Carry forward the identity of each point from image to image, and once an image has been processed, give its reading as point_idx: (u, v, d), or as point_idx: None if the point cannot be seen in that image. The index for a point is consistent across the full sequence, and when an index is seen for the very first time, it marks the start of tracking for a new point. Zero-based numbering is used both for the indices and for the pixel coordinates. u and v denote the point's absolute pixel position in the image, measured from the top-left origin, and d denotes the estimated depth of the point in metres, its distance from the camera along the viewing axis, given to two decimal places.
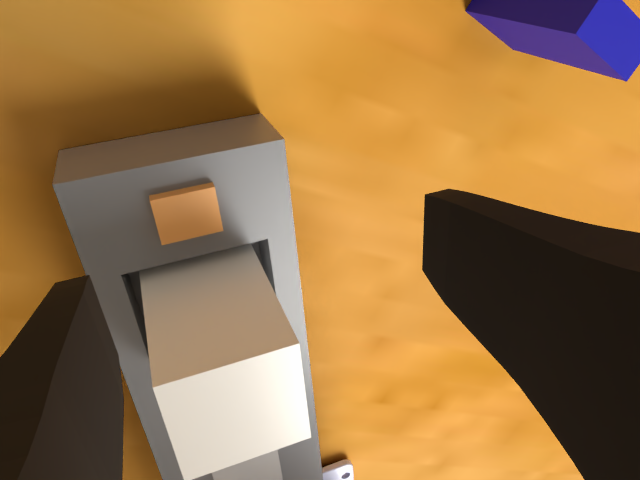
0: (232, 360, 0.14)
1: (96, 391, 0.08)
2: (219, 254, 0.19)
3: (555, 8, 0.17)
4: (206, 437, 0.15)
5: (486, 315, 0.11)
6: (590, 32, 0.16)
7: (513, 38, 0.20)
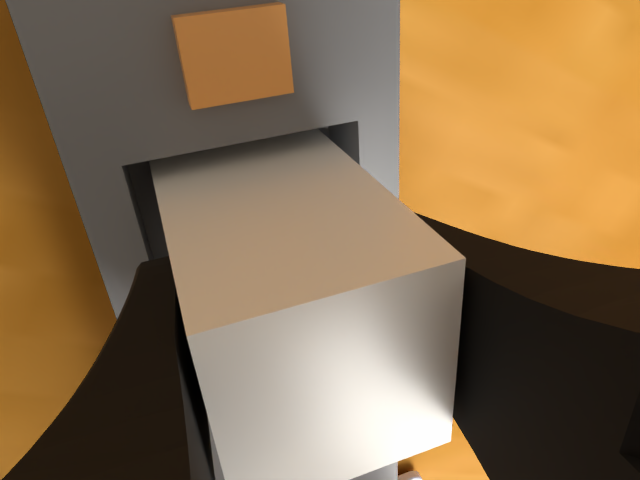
0: (342, 286, 0.07)
1: (191, 363, 0.09)
2: (278, 148, 0.12)
3: None
4: (281, 440, 0.08)
5: None
6: None
7: None
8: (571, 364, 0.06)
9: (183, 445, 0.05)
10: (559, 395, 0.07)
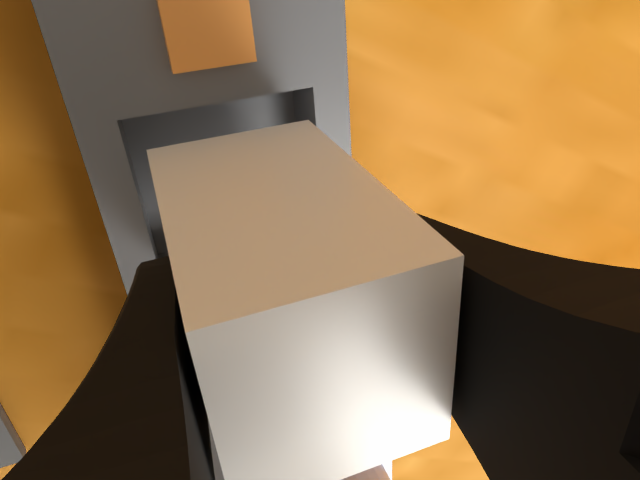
0: (341, 283, 0.07)
1: (191, 363, 0.09)
2: (277, 146, 0.12)
3: None
4: (279, 437, 0.08)
5: None
6: None
7: None
8: (570, 364, 0.06)
9: (183, 445, 0.05)
10: (558, 395, 0.07)
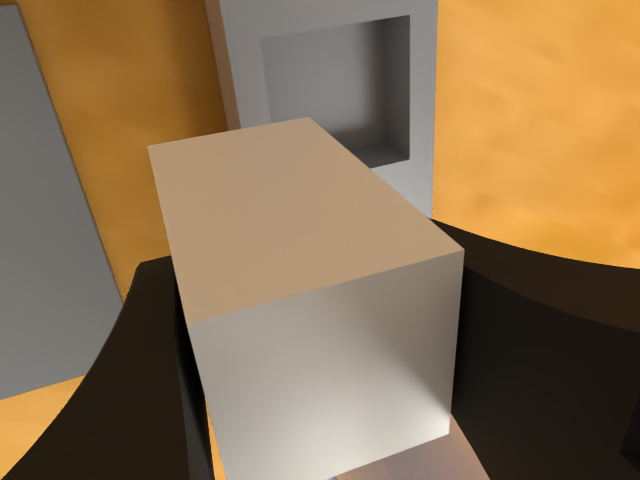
0: (341, 277, 0.07)
1: (191, 363, 0.09)
2: (278, 143, 0.12)
3: None
4: (279, 431, 0.08)
5: None
6: None
7: None
8: (571, 364, 0.06)
9: (182, 445, 0.05)
10: (559, 395, 0.07)
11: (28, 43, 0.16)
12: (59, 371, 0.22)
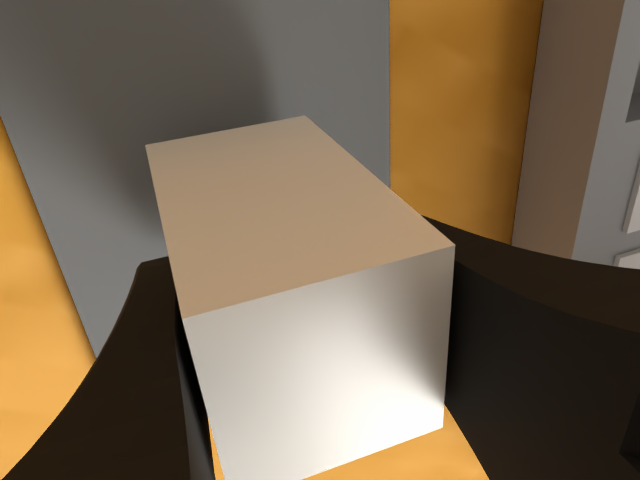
0: (334, 272, 0.07)
1: (191, 363, 0.09)
2: (274, 141, 0.12)
3: None
4: (275, 424, 0.08)
5: None
6: None
7: None
8: (571, 364, 0.06)
9: (183, 445, 0.05)
10: (559, 395, 0.07)
11: None
12: None
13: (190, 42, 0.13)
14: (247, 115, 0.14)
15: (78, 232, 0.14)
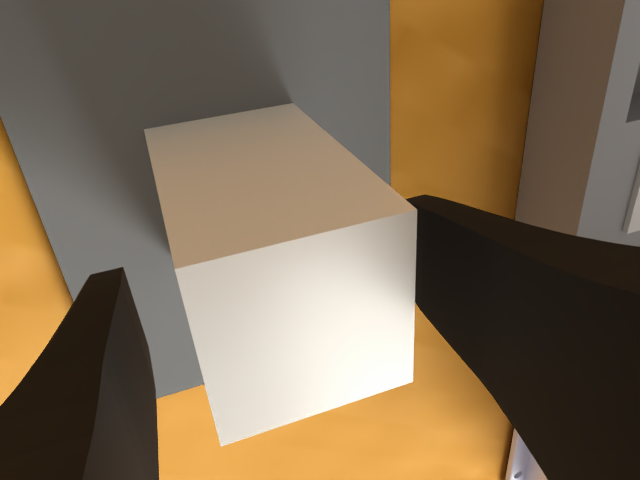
0: (309, 232, 0.08)
1: (135, 380, 0.09)
2: (263, 125, 0.13)
3: None
4: (258, 370, 0.09)
5: (460, 323, 0.10)
6: None
7: None
8: (633, 342, 0.06)
9: None
10: (618, 373, 0.07)
11: None
12: None
13: (190, 42, 0.13)
14: None
15: (78, 232, 0.14)
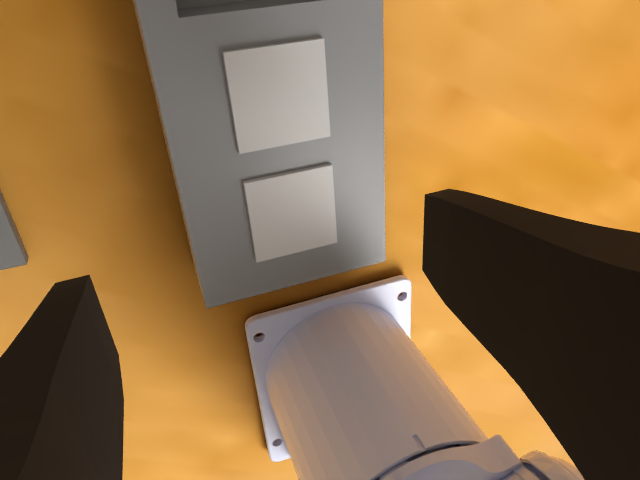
0: None
1: (96, 391, 0.08)
2: None
3: None
4: None
5: (486, 315, 0.11)
6: None
7: None
8: None
9: None
10: None
11: None
12: None
13: None
14: None
15: None
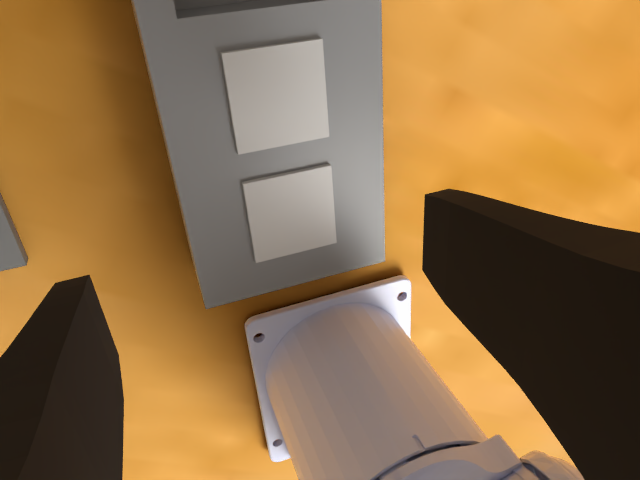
0: None
1: (96, 391, 0.08)
2: None
3: None
4: None
5: (486, 315, 0.11)
6: None
7: None
8: None
9: None
10: None
11: None
12: None
13: None
14: None
15: None
